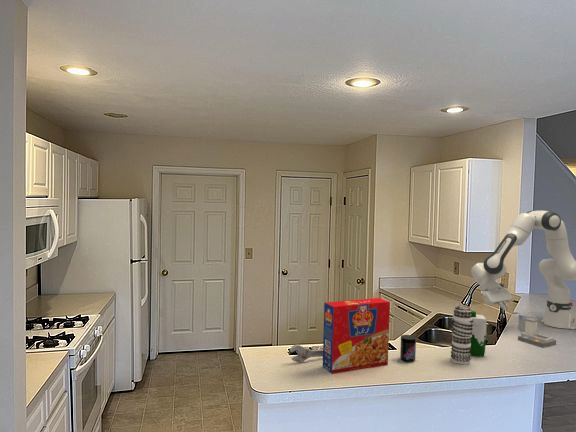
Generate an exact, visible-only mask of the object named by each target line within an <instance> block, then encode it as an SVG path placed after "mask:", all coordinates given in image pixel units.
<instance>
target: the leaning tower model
mask: <svg viewBox="0 0 576 432" xmlns="http://www.w3.org/2000/svg"><path fill="white" fill-rule="evenodd" d="M472 311H473V310H472V309H471V307H470V306H469V305H464V304H457V305H456V306H455V307H453V315H452V317H451V335H452V340H451V345H450V346H451V348H450V349H451V351H450V361H451V362H454V363H456V364H460V365H470V364H471V362H472V361H471V360H472V356H471V354H470V352H471V350H470V349H471V342H470V341H471V339H470V338H471V337H472V335H471V334H472V332H471V330H473V329H472V328H471V327H472V326H473V325H472V324H471V322H473V320H472V317H471V315H472Z"/></svg>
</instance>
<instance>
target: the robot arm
mask: <svg viewBox="0 0 576 432" xmlns="http://www.w3.org/2000/svg"><path fill="white" fill-rule="evenodd" d="M534 229H536V230H544V234H545V243H546V251H547V252H548V254H549V255H551V256H552V257H553V258H544V259H542V260H541V261H540V262H539V264H538V270H539V272H540V273H541V274H542V276H543V278H544V279H545V281H546V285H547V300H546V307H545V308H544V311H543V317H542V318H543V319H541V320H540V322H542V323H543V325H546V326H548V327H553V328H558V329H568V330H576V313H575V312H574V311H573V310H572V307H573V306H574V303H573V302H570V301H571V290H570V288H569V287H568V286H567V285H566V283H565V282H564V280H565V281H573V282H574V281H576V259H575V258H574V256H573V254H572V253H571V249H570V246H569V245H570V244H569V238H568V237H569V236H568V231H567V228H566V225H565V222H564V221H563V220H562V219H561V216H560V215H559V214H558V213H557V212H554V211H552V210H550V211H548V210H533V209H532V210H528V211H527V212H521V213H520V214H519V215H518V216H517V217H516V218H515V219H514V220H513V222H512V223H511V225H510V226H509V228H508V229H507V232H506V234H505V235H504V237H503V238H502V240H501V242H500V243H499V244H498V245H497V247H496V248H495V250H494V251H493V252H492V253H491V254H490V255H489V256H487V257H486V258H485V259H484V260H483V262H477V263H475V264H473V266H472V267H471V269H470V273H471V275H472V277H473V278H474V280H475V281H476V283H477V284H479V286H480V289H481V290H480V293H481V296H482V298H483V300H484V302H485V303H486V305H488V306H494V305H497V306H498V307H500V308H501V309H502V311H507V310H509V309H510V308H509V306H508V303H511V302H512V301H513V300H514V297H513V295H512V293H510V291H509V289H507V288H506V285H505V284H503V283H500V282H497V281H496V280H498V279H501V278H502V277H504V276H505V275H506V274H507V268H506V267H507V266H505V264H504V261H505V259H506V257H507V256H508V254H509V253H510V251H511V250H512V249H513V248H514V247H515V246H517V247H518V246H522V245H523V244H524V243H525V242H527V239H529V237H530V235H531V233H532V232H533V230H534Z"/></svg>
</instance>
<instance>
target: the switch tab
mask: <svg viewBox="0 0 576 432" xmlns="http://www.w3.org/2000/svg"><path fill="white" fill-rule="evenodd" d="M525 320H526V323H525V331H524V332H525V333H526V334H529V335H533V336H536V337H537V334H538V322H539V319H537V320H536V319H532V318H527V319H525Z"/></svg>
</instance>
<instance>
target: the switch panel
mask: <svg viewBox="0 0 576 432" xmlns="http://www.w3.org/2000/svg"><path fill="white" fill-rule="evenodd" d="M517 341H518V342H519V341H520V342H524V343H526V344H530V345H533V346H535V347H536V346H537V347H540V348H543V349H544V348H546V347H550V346H555V345H556V344H557V340H556V339H554V337H552V336H548V335H543V334H540V333H537V337H536V336H533V335H529V334H526V333H525V331H521V333H520V335H518V337H517Z"/></svg>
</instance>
